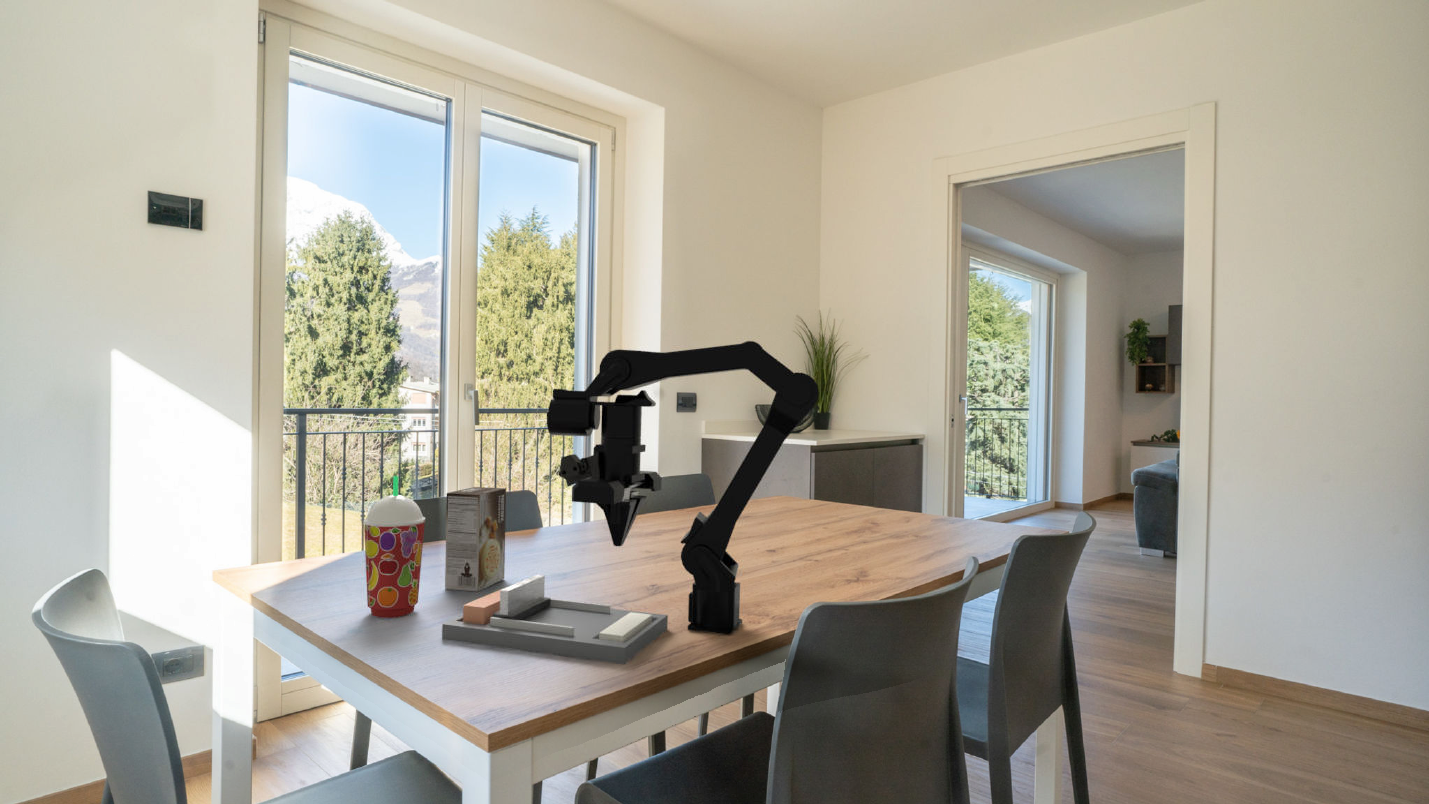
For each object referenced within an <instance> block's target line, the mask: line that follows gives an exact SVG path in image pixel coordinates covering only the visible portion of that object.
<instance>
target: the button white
mask: <svg viewBox="0 0 1429 804" xmlns="http://www.w3.org/2000/svg"><path fill="white" fill-rule="evenodd" d="M651 623H652V615H650V614H641V613H633V612H630V613H629V614H627V615H626V616H624V617H623V618H621V619H620V620H618V621H617V622H615V623H614V624H612V625H611V626H609V627H608V628H606V629H605V630H603V631H601V632H600V633H599V639H601V640H608V641H616V642H624V643H626V642H627V641H628V640H630V639H631V638H632V637H634V636H635V635H636V634H638V633H639V632H640V631H642V630H643V629H644V628H646V627H647V626H648V625H650V624H651Z"/></svg>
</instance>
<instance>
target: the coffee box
mask: <svg viewBox="0 0 1429 804" xmlns="http://www.w3.org/2000/svg"><path fill="white" fill-rule="evenodd" d="M506 493H507V488H506V487H502V488H501V487H484V486H483V487H482V486H472V487H469V488H465V489H459V490H455V491H450V492H449V491H448V492H446V507H445V509H446V511H445V513H446V514H445V515H446V516H445V519H446V520H445V522H446V523H445V563H444V564H445V567H444V572H445V573H444V575H445V576H444V578H445V579H444V589H445V590H452V591H467V592H477V593H478V592H480V591H482V590H484V589H486V588H488V587H491V586H492V585H495V584H496V583H498V582H501V581H503V580H505V569H506V568H505V565H506V561H505V560H506V557H505V556H506V552H505V551H506V513H507V512H506V509H507V507H506V505H507V504H506V503H507V500H506V499H507V494H506Z"/></svg>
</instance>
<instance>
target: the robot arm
mask: <svg viewBox="0 0 1429 804" xmlns="http://www.w3.org/2000/svg"><path fill="white" fill-rule="evenodd" d="M743 370H745V371H748V372H750V373H751V374H753V375H754V376H755V377H756V378H758V380H759V381H761V382H762V383H764V384H765V385H766V386H767V387H769V389H771V390H772V391H774V392H775V395H774V398H773V400H772V403H771V405H770V408H769V410H768V413H767V415H766V419H765V421H764V424H763V427H762V428H761V430H760V432H759V433H758V435H757V436H756V438H755V440H754V441H753V443H752V445H751V447H750V448H749V450H748V452H747V453H746V455H745V457H744V459H743V460H742V462H741V464H740V466H739V467H738V469H737V470H736V472H735V473H734V476H733V477H732V479H731V480H730V482H729V485H728V486H727V488H726V489H725V491H724V492H723V494H722V496H721V497H720V500H719V501H718V503H717V504H716V506H715V507H714V509H712V511H710V513H709V514H708V515H707V516H706V515H705V514H703V512H701V511H699V512H698V513H697V515H696V516H695V518H694V519H693V522H692V525H691V527H690V530H688V531H687V532H686V533H685V535H684V536H683V538H682V539H681V541H680V544H681V545H682V544H684V545H683V547H682V549H681V552H680V558H681V563H682V566H683V568H684V569H685V570H686V572H688V574H690V575H692V577H693V579H694V582H693V583H692V589H691V591H690V593H689V594H688V606H687V612H688V613H687V621H688V622H689V624H688V625H687V627H686V628H687V629H686V630H689V631H696V632H704V633H713V634H721V635H732V634H734V633H735V631H736V630H738V628H739V627H740V626H741V625H742V624H743V619H741V618H740V605H741V604H740V601H741V599H740V597H741V582H735V581H736V579H737V574H738V569H739V563H738V562H737V561H736V560H735V559H734V557H732V556H731V555H730V554H729V553H728V551H727V548H728V545H729V543H730V540H731V537H732V535H733V532H734V529H735V526H736V523H737V521H738V520H739V518H740V516H741V515H742V513H743V511H744V510H745V509H746V506H747V505H748V504H749V502H750V500H751V498H752V497H753V494H754V493H755V491H756V489H757V488H758V486H759V485H760V483H761V481H762V480H763V478H764V476H765V474H766V473H767V471H768V470H769V467H770V466H771V464H772V462H773V460H774V459H775V458H776V455H777V454H778V452H779V450H780V449H781V447H782V446H783V444H784V442H785V441H786V439H787V438H788V437H789V436H790V435H791V434H792V432H793V431H795V429H797V427H798V426H799V424H801V422H802V421H803V420H804V419H805V418H806V417H807V415H808V414H809V413H810V412H811V411H812V410H813V409H814V407H815V406H816V404H817V402H818V401H819V396H820V391H819V386H818V384H817V382H816V381H815V379H814V378H813V377H812V376H810V375H809V374H807V373H804V372H796V371H795V372H793V371H792V370H791V369H790V368H789V367H787V366H786V365H785V364H783V363H781V362H780V361H779V360H778V359H777V358H775V357H774V356H773V355H772V354H770V353H769V352H767V351H766V350H765V349H763V346H762V345H761V344H760V343H758V342H756V341H753V340H747V341H743V342H742V343H736V344H726V345H718V346H711V347H710V346H709V347H701V348H694V349H692V348H691V349H683V350H676V351H675V350H674V351H666V352H660V351H658V352H657V351H647V350H633V349H614V350H611V351H609V352H607V353H606V354H605V355H604V357H603V358H602V359H601V361H600V363H599V371H598V374H597V375H596V376H595V378H594V379H593V380H592V381H591V383H590V384H588V386H587V388H586V389H585V390H570V389H565V388H553V389H552V397H551V398H550V402H549V406H548V410H547V412H546V426H547V430H548V433H549V435H550V436H561V437H564V436H567V437H569V436H570V437H591V435H592V434H593V431H594V430H596V431H597V430H599V428H600V427H601V428H600V429H601V431H600V432H601V433H600V436H601V437H600V443H598V444H595V445H594V447H593V454H592V455H590V456H587V457H586V456H585V457H582V458H580V457H579V456H578V455H577V454H576V453H575V454H574V453H573V454H572V453H571V454H568V455H565V456H563V457H561V458H560V465H559V471H558V476H559V477H560V478H563V479H564V480H565V483H566V486H567V487H571V486H572V487H571V501H572V502H573V503H588V504H596V505H597V506H598V507H599V508H600V509H601V510H602V511H603V514H604V516H605V519H606V523H607V526H608V530H609V533H610V537H611V540H612V544H613V546H614V547H622V546H623V545H624V543H625V541H626V538H627V537H628V535H629V533H630V531H631V529H632V527H633V524H634V522H635V520H636V518H637V516H638V514H639V513H640V510H641V509H642V506H643V505H644V503H645V501H646V500H647V498H648V497H647V495H639V490H636V489H641V490H650V491H651V492H658V491H662V477H661V476H660V474H659V473H658V472H657V471H651V470H649V471H648V470H641V453H643V452H644V453H645V452H646V444H642V414H643V413H642V412H643V411H642V410H643V409H642V408H643V407H644V408H645V407H648V408H652V407H653V408H654V407H655V406H656V404H657V403H656V401H654V400H653V399H652V398H651V397H650V396H649V394H648V393H647V391H646V390H645V389H643V390H640V391H639V392H638V394H618V392H620V391H624V392H625V391H626V392H628V391H633V390H636V389H640V388H644V387H646V386H650V385H653V384H655V383H659V382H662V381H665V380H668V379H673V378H681V377H690V376H701V375H708V374H717V373H718V374H719V373H725V372H726V373H727V372H735V371H743ZM615 394H617V395H616V398H615V400H614V401H598V398H599V397H612V396H614V395H615ZM600 423H601V424H600ZM600 425H601V426H600Z"/></svg>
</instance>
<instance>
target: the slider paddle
mask: <svg viewBox="0 0 1429 804" xmlns="http://www.w3.org/2000/svg"><path fill="white" fill-rule="evenodd" d="M545 581H546V575H543V574H535V575H533V576H531V577H529V578H526V579H524V580H522V581H519V582H517V583H515V584H512V585H509V586H507V587H503V588H504V589H503V588H502V590H501V589H499V590H500V611H498V612H496V613H494V614H493V617H496V618H504V619H512V620H522V619H524V618H526V617H527V616H529V615H531V614H533V613H535V612H537V611H539V610H541V609H543V608H545V607H547V606H549V605H550V599H551V597H548V596H547V597H546V596H545V587H546V585H545V584H546V583H545Z"/></svg>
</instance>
